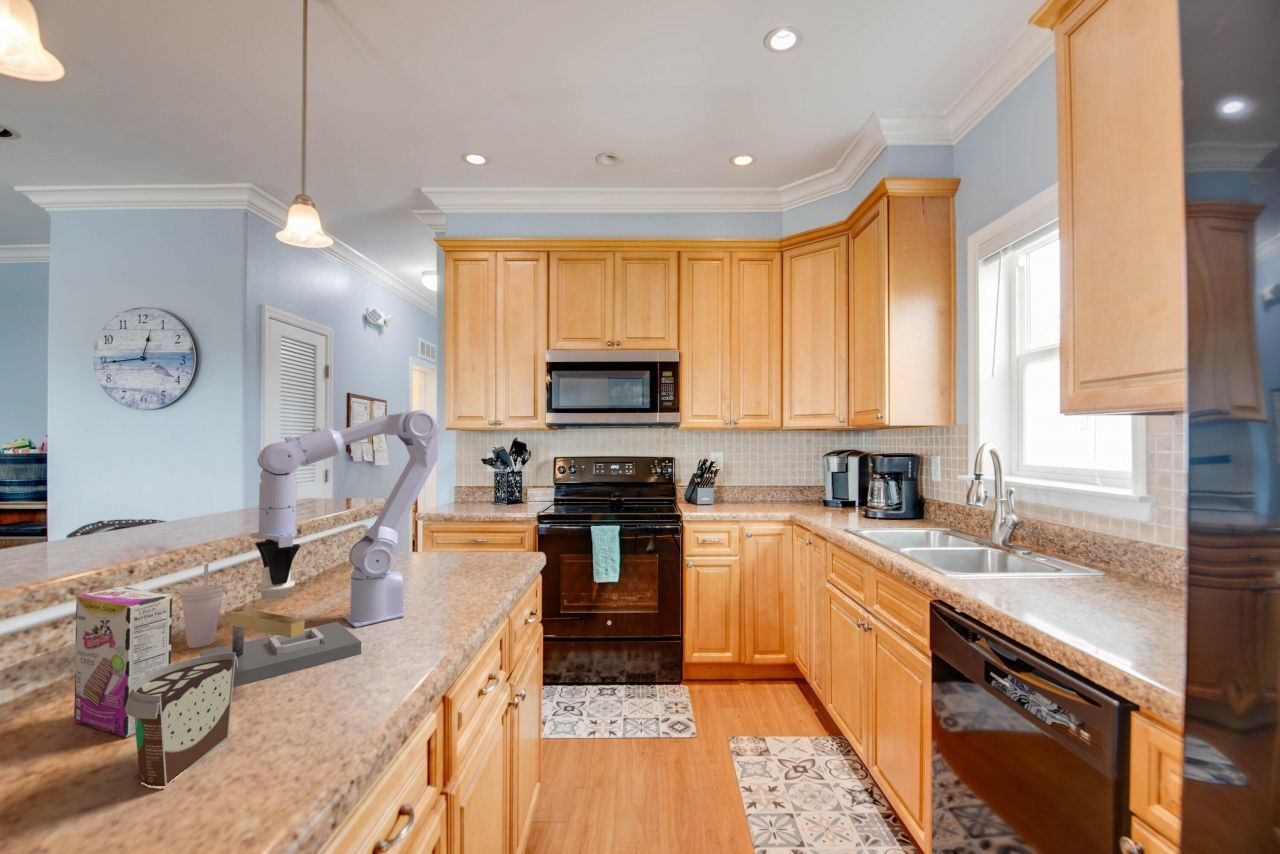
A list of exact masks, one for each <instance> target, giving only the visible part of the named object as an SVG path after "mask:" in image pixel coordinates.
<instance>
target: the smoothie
mask: <svg viewBox="0 0 1280 854" xmlns="http://www.w3.org/2000/svg"><path fill="white" fill-rule="evenodd" d="M203 565H204V567H203V569H204V570H203V585H200V586H195V587H189V588H186V589H184V590H181V591H179V597H178V599H179V600H181V604H182V605H181V607H182V613H183V621H184V627H185V635H186V642H187V643H186V645H187V648H190V649H193V648H194V649H195V648H203V647H207V646H210V645H212V644H214V643H215V640H216V636H217V632H218V631H217V630H218V625H219V619H220V618H219V616H220V613H221V607H222V600H223V595H224V593H226V586H225V585H223V584H209V563H205V564H203Z"/></svg>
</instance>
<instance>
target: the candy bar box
mask: <svg viewBox="0 0 1280 854" xmlns="http://www.w3.org/2000/svg"><path fill="white" fill-rule="evenodd" d="M75 598H76V599H75V600H76V601H75V602H76V604H75V605H76V607H75V611H76V612H75V648H74V649H75V666H74V672H75V673H74V675H75V676H74V708H73V709H74V710H73V711H74V712H73V722H74V723H77V724H80V725H84V726H87V727H90V728H93V729H97V730H100V731H102V732H103V731H104V732H107V733H109V734H113V735H117V736H118V737H119V736H120V737H123V738H130V737H133V736H136V730H135V718H134V717H132V716H130V715H128V714H127V713H126V712H125V707H126V704H127V700H128V697H129V694H130V692H131V690H132V689H133V686H134V684H135V683H136V682H137V681H138V680H140V679H141V678H143V677H144V676H146V675H148V674H150V673H152V672H154V671H156V670H158V669H161V668H163V667H166V666H169V665H172V624H173V623H172V622H173V620H172V615H173V610H172V609H173V595H172V594H168V593H164V592H163V593H161V592H155V591H149V590H143V589H138V588H131V587H125V586H117V587H113V588H111V587H110V588H108V589H101V590H97V591H93V592H86V593H84V594H80V595H76V597H75Z"/></svg>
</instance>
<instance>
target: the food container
mask: <svg viewBox="0 0 1280 854" xmlns="http://www.w3.org/2000/svg"><path fill="white" fill-rule="evenodd" d="M235 668H238V661H237V657H236V652H232V653H220V654H213V655H208V656H202V657H200V656H197V657H193V658H191V659H185V660H182V661H179V662H176V663H173V664H172V663H171V665H169V666H166V667H163V668H161V669H158V670H156V671H154V672H152V673H150V674H148V675H146V676H144V677H143V678H141V679H140V680H138V681H137V682H136V683H135V684H134V686H133V689H132V690H131V692H130V694H129V697H128V700H127V704H126V707H125V712H126V713H127V714H128V715H130V716H132V717H134V718H135V730H136V734H135V740H136V742H135V743H136V751H137V752H136V753H137V763H138V765H137V766H138V773H139V774H138V775H139V781H140V780H141V782H143V783H145V784H147V785H151V786H153V785H154V786H166V785H167V783H169V782H170V781H171V780H172V779H174V778H175V777H176V776H178V775H179V774H180V773H181V772H183V771H184V770H186V769H189V768H190V767H192V766H193V765H195V764H196V763H197V762H199V761H200V760H201V759H202V758H204V757H205V756H206V755H207V756H208V754H209V753H210V754H211V753H212V752H214V751H215V750H216V749H218V748H219V747H220V746H221V745H222V744H223V743H224V742H226V741H227V740H228V739H229V736H230V724H231V715H232V713H231V711H232V702H233V700H232V699H233V692H234V691H233V689H234V687H233V681H234V670H235ZM210 754H209V755H210ZM207 756H206V757H207ZM206 757H205V758H206ZM202 760H203V759H202ZM202 760H201V761H202ZM201 761H200V762H201ZM200 762H199V763H200ZM197 764H198V763H197ZM197 764H196V765H197ZM196 765H195V766H196ZM192 768H193V767H192Z"/></svg>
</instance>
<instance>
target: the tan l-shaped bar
mask: <svg viewBox="0 0 1280 854" xmlns="http://www.w3.org/2000/svg"><path fill="white" fill-rule="evenodd" d="M228 624H229V626H232V641H231V642H232V644H231V645H232V652H236V657H237V656H241V655H243V642H245V641H244V637H245V636H244V634H245V633H244V631H245V629H249V630H253V631H256V632H262V633H267V634H271V635H274V636H275V635H279V636H284V637H289V638H293V637H295V636H298V635H301V634H304V629H306V628H305V626H306V625H305V619H302V618H296V617H290V616H286V615H280V614H275V613H269V612H264V611H260V610H255V609H249V608H244V607H243V608H239V609H235V610H232V611H230V612H229V622H228Z"/></svg>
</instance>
